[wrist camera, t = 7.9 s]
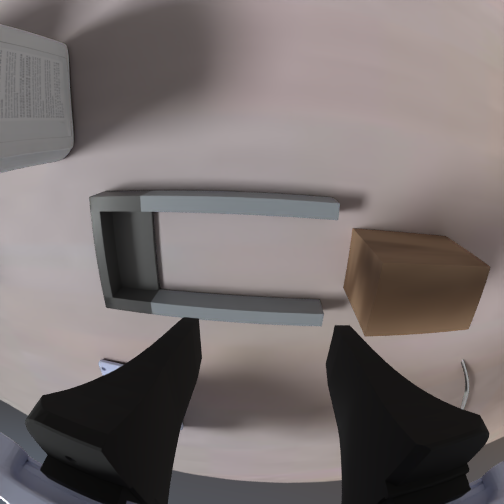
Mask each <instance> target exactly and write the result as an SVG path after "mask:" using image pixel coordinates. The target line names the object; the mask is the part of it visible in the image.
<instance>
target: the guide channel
mask: <svg viewBox="0 0 504 504" xmlns="http://www.w3.org/2000/svg"><path fill="white" fill-rule="evenodd" d="M89 201H90V212H91V221H92V230H93V237H94V244H95V251H96V258H97V264H98V269H99V275H100V280H101V285H102V290H103V295H104V300H105V304H106V308H112V309H118V310H125V311H132V312H139V313H147V314H155V315H163V316H172V317H181V318H183V317H190V318H199V319H201V320H213V321H225V322H238V323H254V324H272V325H297V326H322V321H323V316H324V313H323V309H322V306H321V302H320V299H295V298H274V297H255V296H239V295H224V294H210V293H197V292H185V291H174V290H163V289H160V287H159V278H158V268H157V258H156V246H155V233H154V218H153V212H190V213H221V214H245V215H265V216H284V217H300V218H315V219H329V220H338V217H339V208H340V203H339V202H337V201H336V200H335V199H334V198H333V197H321V196H308V195H294V194H278V193H258V192H234V191H188V190H152V191H108V192H101V193H99V194H96V195H93V196H91V197H89Z"/></svg>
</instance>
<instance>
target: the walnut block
mask: <svg viewBox="0 0 504 504" xmlns="http://www.w3.org/2000/svg"><path fill="white" fill-rule="evenodd" d="M489 270H490V266H488V265H487V264H486V263H484V262H483V261H482V260H480V259H479V258H477V257H476V256H474V255H473V254H472V253H470V252H469V251H467V250H466V249H464V248H463V247H461V246H460V245H458V244H457V243H455V242H454V241H452V240H451V239H449V238H448V237H446V236H438V235H428V234H417V233H405V232H393V231H381V230H368V229H354V228H353V230H352V238H351V245H350V251H349V258H348V264H347V270H346V276H345V282H344V287H343V288H344V290H345V292H346V295H347V297H348V299H349V301H350V303H351V306H352V308H353V310H354V312H355V315H356V317H357V319H358V321H359V324H360V326H361V328H362V331H363V333H364V335H365V336H389V335H408V334H423V333H436V332H447V331H457V330H466V329H469V326H470V324H471V322H472V319H473V317H474V314H475V311H476V309H477V306H478V303H479V301H480V298H481V295H482V292H483V289H484V286H485V283H486V280H487V277H488V274H489Z"/></svg>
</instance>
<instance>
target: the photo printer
mask: <svg viewBox="0 0 504 504" xmlns="http://www.w3.org/2000/svg"><path fill="white" fill-rule="evenodd" d="M73 143H74V133H73V120H72V109H71V94H70V76H69V55H68V49H67V46H66V45H65V44H64V43H62V42H59V41H56V40H53V39H50V38H47V37H44V36H41V35H38V34H34V33H31V32H28V31H24V30H21V29H17V28H14V27H10V26H6V25H2V24H0V173H2V172H7V171H11V170H16V169H20V168H25V167H30V166H35V165H40V164H46V163H51V162H57V161H60V160H62V159H63V158H65V157H66V156H67V154H68V153H69V152H70V150H71V148H72V147H73Z"/></svg>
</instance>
